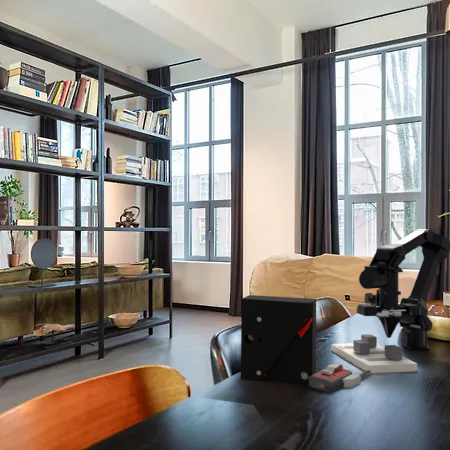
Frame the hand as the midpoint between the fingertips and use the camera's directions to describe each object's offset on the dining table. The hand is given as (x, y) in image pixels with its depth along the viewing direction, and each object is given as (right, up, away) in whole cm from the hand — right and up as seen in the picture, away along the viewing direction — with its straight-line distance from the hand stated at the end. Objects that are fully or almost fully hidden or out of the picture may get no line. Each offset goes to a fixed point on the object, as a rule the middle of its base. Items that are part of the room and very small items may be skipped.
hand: (388, 337), depth 142 cm
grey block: (-11, -2, -9) cm, 15 cm away
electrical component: (-37, -4, -26) cm, 46 cm away
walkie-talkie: (-22, -5, -29) cm, 36 cm away
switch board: (-8, -4, -9) cm, 13 cm away
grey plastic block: (-7, -2, -1) cm, 7 cm away
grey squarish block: (-4, -2, -15) cm, 16 cm away
